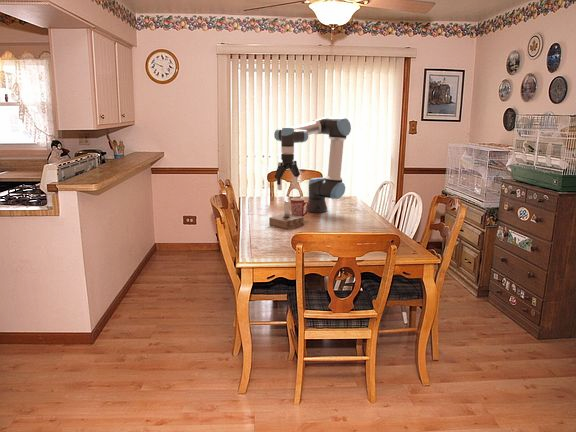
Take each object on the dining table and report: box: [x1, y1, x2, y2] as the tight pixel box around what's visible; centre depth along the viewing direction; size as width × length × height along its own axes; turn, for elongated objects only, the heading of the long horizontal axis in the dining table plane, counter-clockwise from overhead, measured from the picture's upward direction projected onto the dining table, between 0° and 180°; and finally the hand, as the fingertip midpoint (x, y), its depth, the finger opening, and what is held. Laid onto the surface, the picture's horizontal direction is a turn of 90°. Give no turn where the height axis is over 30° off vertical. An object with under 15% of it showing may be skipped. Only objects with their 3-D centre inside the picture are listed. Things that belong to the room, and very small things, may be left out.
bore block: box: [268, 213, 305, 230], centre depth 291 cm, size 16×14×5 cm
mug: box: [290, 197, 310, 218], centre depth 305 cm, size 13×9×14 cm
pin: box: [283, 200, 291, 218], centre depth 290 cm, size 3×3×14 cm
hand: (287, 188), depth 288 cm, fingers open, 13 cm apart
